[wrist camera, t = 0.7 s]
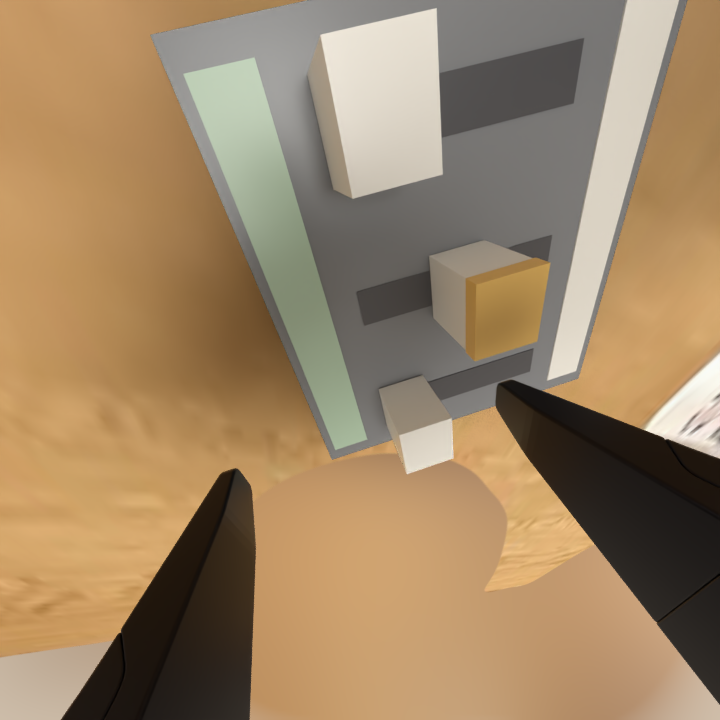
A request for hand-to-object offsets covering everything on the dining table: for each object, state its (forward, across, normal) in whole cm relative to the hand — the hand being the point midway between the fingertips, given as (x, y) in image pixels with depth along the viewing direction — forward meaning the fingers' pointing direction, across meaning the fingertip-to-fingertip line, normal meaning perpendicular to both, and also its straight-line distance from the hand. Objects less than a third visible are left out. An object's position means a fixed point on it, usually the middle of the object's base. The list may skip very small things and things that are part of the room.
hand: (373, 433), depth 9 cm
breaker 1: (+9, -3, -7) cm, 12 cm away
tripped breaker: (+9, -7, 0) cm, 11 cm away
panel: (+10, -7, 0) cm, 12 cm away
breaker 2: (+9, -3, +8) cm, 12 cm away
